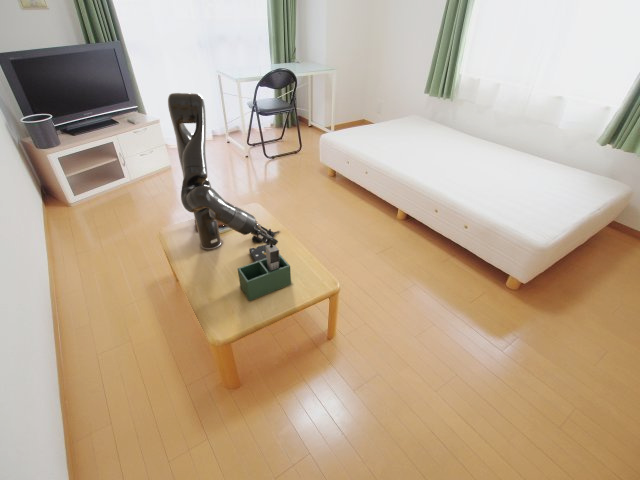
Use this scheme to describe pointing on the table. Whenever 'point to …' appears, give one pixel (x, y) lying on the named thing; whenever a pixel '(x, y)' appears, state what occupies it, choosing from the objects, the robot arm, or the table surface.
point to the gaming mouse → (261, 241)
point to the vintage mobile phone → (272, 256)
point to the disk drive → (258, 253)
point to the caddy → (263, 278)
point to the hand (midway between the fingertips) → (271, 237)
